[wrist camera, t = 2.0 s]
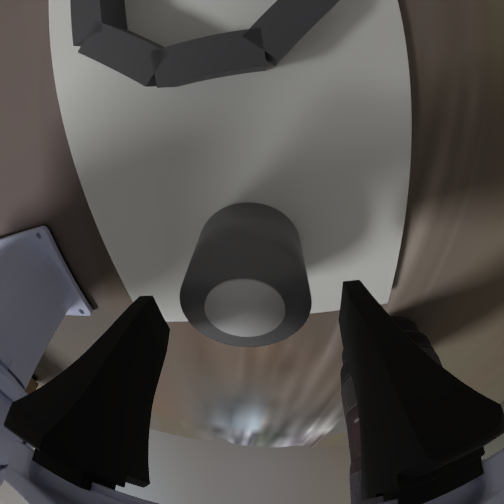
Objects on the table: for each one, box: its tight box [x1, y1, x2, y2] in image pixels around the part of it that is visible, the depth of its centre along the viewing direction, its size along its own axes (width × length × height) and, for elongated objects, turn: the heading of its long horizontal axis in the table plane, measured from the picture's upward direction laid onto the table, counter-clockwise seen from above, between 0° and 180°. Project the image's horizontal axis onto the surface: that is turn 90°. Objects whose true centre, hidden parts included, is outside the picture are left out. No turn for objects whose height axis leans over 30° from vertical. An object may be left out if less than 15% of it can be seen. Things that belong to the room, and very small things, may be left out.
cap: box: [180, 202, 312, 347], centre depth 12 cm, size 5×5×4 cm
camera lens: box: [341, 318, 442, 504], centre depth 13 cm, size 8×8×15 cm
